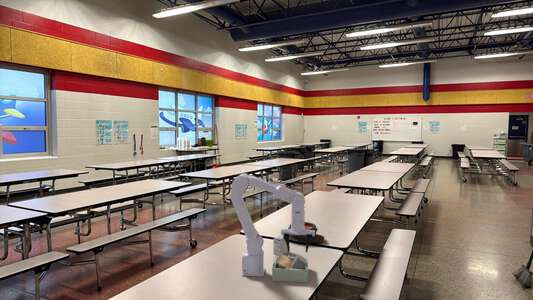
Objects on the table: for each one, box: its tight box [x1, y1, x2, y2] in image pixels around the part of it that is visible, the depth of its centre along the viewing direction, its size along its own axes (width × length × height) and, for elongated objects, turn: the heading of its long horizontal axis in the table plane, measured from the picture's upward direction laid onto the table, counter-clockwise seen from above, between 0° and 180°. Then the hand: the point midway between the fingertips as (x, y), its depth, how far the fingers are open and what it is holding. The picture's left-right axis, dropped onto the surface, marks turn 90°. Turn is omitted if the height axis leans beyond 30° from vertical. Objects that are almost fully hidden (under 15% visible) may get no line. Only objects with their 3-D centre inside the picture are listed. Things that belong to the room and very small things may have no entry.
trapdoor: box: [277, 252, 293, 269], centre depth 142 cm, size 12×11×3 cm
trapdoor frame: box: [271, 255, 309, 284], centre depth 142 cm, size 15×14×6 cm
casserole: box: [287, 221, 325, 244], centre depth 187 cm, size 25×19×8 cm
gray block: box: [292, 253, 307, 269], centre depth 141 cm, size 4×4×5 cm
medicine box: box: [272, 234, 289, 256], centre depth 166 cm, size 8×4×9 cm, turn 141°
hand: (297, 251), depth 141 cm, fingers open, 7 cm apart
